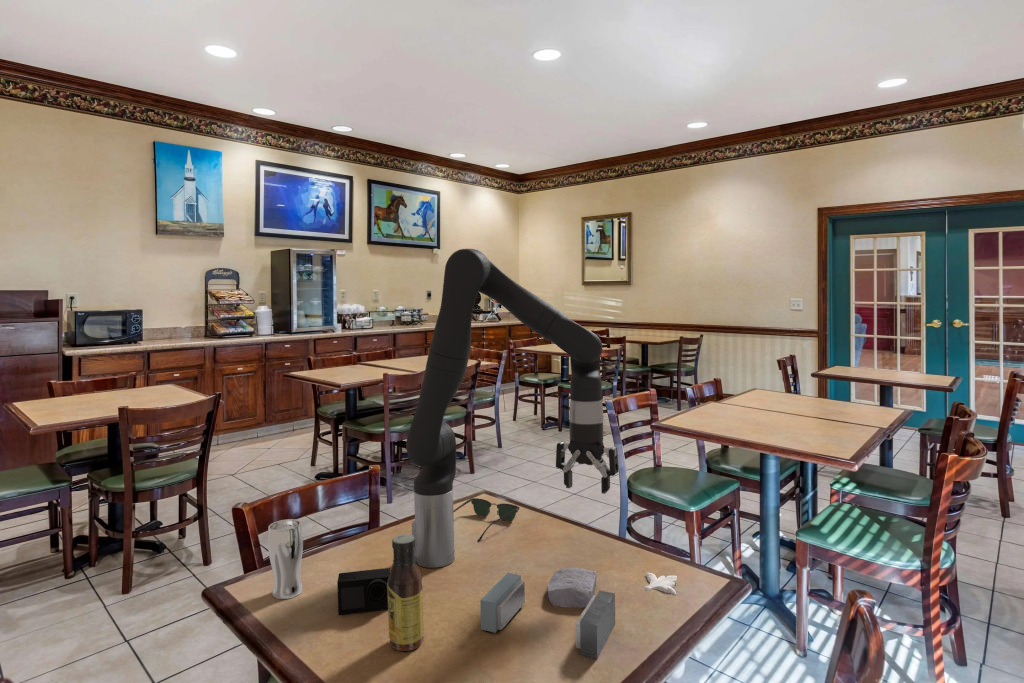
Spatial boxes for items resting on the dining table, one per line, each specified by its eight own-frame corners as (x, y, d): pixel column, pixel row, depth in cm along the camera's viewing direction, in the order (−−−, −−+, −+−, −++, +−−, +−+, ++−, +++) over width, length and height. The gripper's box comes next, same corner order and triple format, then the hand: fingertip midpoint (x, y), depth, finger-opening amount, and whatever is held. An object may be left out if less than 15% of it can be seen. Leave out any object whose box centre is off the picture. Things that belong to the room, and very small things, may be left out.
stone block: (547, 615, 118) (596, 610, 116) (542, 592, 118) (591, 586, 116) (555, 589, 130) (599, 584, 128) (551, 568, 130) (595, 562, 128)
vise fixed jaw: (575, 653, 102) (574, 620, 101) (594, 619, 113) (594, 589, 112) (597, 659, 100) (596, 625, 100) (615, 623, 111) (614, 593, 111)
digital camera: (337, 619, 115) (335, 584, 114) (339, 605, 120) (338, 572, 120) (391, 612, 117) (390, 578, 116) (391, 599, 122) (390, 567, 122)
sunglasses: (437, 533, 158) (436, 515, 158) (472, 513, 173) (471, 497, 172) (488, 544, 150) (487, 525, 149) (520, 523, 164) (520, 505, 164)
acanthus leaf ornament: (645, 578, 131) (645, 569, 131) (677, 581, 129) (677, 573, 129) (642, 593, 123) (642, 584, 123) (676, 597, 121) (676, 589, 121)
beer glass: (311, 588, 127) (309, 521, 126) (287, 603, 121) (284, 532, 120) (288, 582, 130) (285, 516, 129) (263, 596, 124) (259, 527, 123)
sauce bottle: (391, 635, 109) (388, 530, 107) (425, 632, 109) (422, 529, 108) (386, 656, 102) (383, 545, 101) (422, 653, 103) (419, 543, 101)
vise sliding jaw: (481, 629, 109) (480, 599, 109) (508, 599, 120) (507, 572, 120) (500, 633, 108) (499, 604, 107) (525, 603, 119) (525, 576, 118)
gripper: (550, 419, 131) (551, 490, 132) (611, 425, 125) (611, 499, 126) (563, 414, 138) (564, 481, 139) (622, 418, 131) (622, 489, 132)
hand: (586, 490), depth 132 cm, fingers open, 8 cm apart
